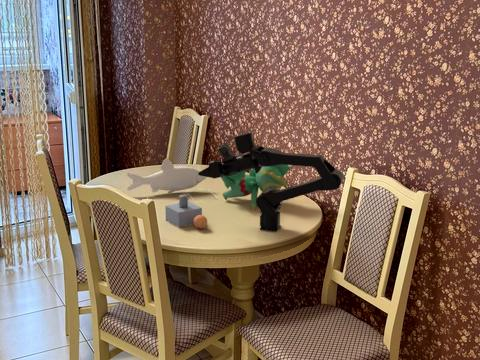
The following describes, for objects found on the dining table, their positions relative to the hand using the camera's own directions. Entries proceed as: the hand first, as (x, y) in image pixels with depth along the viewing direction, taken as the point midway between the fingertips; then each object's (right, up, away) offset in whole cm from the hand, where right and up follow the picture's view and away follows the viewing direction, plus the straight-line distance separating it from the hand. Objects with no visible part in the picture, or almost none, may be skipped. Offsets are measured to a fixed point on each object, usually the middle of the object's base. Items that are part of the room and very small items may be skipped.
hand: (203, 173), depth 220 cm
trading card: (-3, -10, +37) cm, 39 cm away
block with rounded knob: (-8, -18, +4) cm, 20 cm away
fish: (-18, -9, +39) cm, 44 cm away
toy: (+20, -13, +27) cm, 35 cm away
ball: (-1, -18, -4) cm, 18 cm away
